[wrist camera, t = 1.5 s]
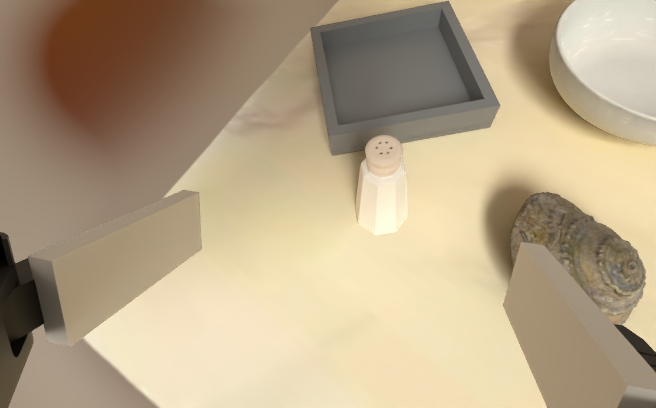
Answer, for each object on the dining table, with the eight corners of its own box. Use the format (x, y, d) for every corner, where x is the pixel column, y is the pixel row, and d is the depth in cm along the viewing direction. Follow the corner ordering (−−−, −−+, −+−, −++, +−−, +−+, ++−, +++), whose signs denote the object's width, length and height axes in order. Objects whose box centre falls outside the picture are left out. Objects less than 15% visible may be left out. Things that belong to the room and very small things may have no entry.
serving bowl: (800, 146, 33) (896, 94, 27) (590, 196, 34) (638, 155, 27) (661, 16, 43) (708, -43, 37) (498, 56, 43) (518, 3, 37)
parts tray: (443, 25, 47) (448, 0, 44) (490, 127, 38) (500, 105, 35) (314, 50, 47) (310, 27, 44) (332, 155, 39) (328, 136, 36)
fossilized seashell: (536, 349, 27) (580, 297, 22) (468, 248, 34) (490, 195, 30) (651, 325, 28) (714, 272, 24) (561, 234, 36) (595, 181, 31)
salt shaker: (418, 219, 34) (436, 156, 25) (372, 245, 34) (371, 191, 24) (388, 180, 37) (394, 109, 27) (345, 204, 36) (334, 139, 26)
